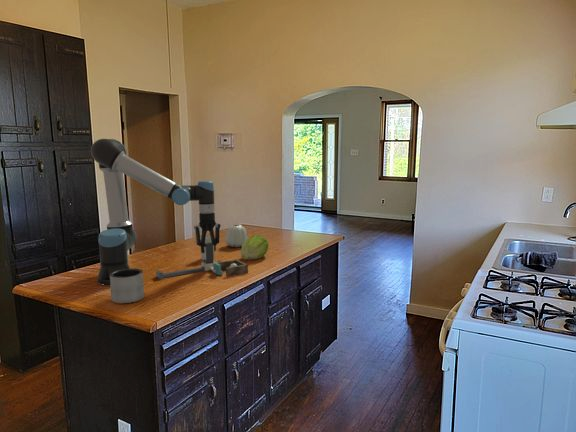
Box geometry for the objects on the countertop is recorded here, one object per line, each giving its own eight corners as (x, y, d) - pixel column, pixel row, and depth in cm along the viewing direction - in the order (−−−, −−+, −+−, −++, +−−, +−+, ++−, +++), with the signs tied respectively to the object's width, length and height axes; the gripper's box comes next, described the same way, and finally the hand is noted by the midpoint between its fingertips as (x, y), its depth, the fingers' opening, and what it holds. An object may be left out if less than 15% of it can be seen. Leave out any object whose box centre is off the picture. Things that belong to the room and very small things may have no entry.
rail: (159, 279, 194) (159, 273, 194) (156, 276, 198) (155, 270, 198) (224, 268, 213) (224, 262, 212) (220, 266, 217) (220, 260, 216)
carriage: (213, 276, 198) (213, 248, 196) (201, 268, 211) (200, 242, 209) (225, 274, 202) (224, 247, 199) (212, 266, 214) (211, 241, 212)
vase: (244, 243, 269) (244, 222, 267) (249, 247, 256) (249, 226, 254) (223, 244, 265) (223, 223, 263) (227, 249, 252) (227, 227, 250)
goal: (227, 276, 198) (227, 268, 198) (216, 270, 209) (216, 262, 208) (248, 272, 205) (247, 264, 204) (236, 266, 215) (236, 259, 214)
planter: (104, 302, 165) (102, 275, 164) (126, 292, 177) (125, 267, 175) (129, 306, 161) (127, 278, 159) (151, 296, 173) (149, 270, 171)
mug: (207, 261, 226) (206, 239, 224) (198, 259, 230) (197, 238, 228) (220, 257, 234) (219, 236, 232) (211, 255, 238) (210, 235, 236)
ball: (234, 262, 205) (240, 266, 207) (231, 261, 208) (236, 264, 210) (230, 270, 204) (236, 273, 206) (226, 268, 207) (232, 271, 209)
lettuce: (228, 251, 223) (246, 240, 217) (246, 238, 243) (264, 228, 237) (241, 272, 224) (260, 261, 218) (258, 257, 243) (276, 247, 237)
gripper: (193, 214, 198) (195, 262, 202) (225, 211, 207) (227, 257, 211) (187, 212, 204) (190, 259, 208) (219, 209, 213) (220, 254, 217)
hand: (208, 258), depth 209 cm, fingers closed on carriage, 4 cm apart
